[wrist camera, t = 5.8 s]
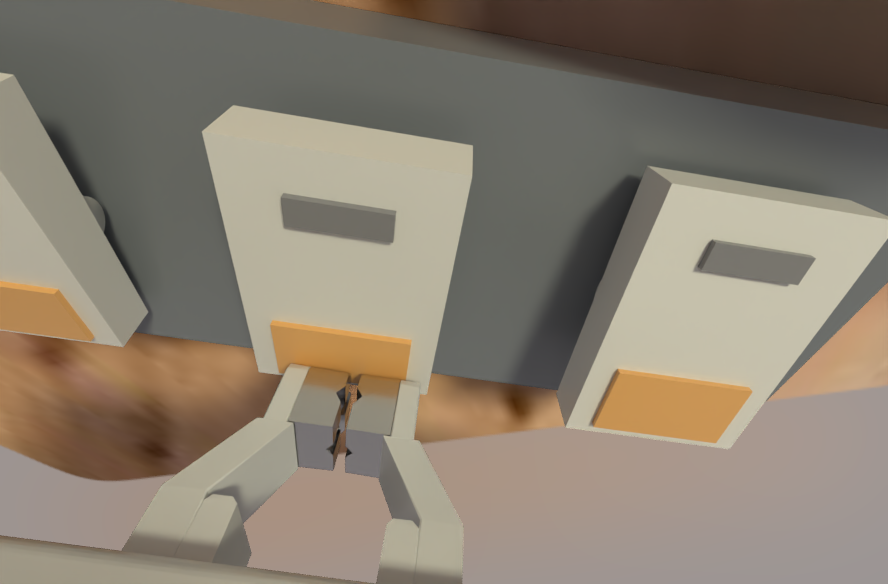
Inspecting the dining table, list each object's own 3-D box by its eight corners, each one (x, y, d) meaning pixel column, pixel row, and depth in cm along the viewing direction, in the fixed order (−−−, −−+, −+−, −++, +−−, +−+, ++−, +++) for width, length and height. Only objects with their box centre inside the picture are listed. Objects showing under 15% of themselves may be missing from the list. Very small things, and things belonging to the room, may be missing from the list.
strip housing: (4, 246, 15) (-82, 302, 13) (-198, -93, 9) (-415, -105, 7) (711, 350, 17) (750, 416, 14) (902, 108, 11) (1019, 153, 9)
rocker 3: (552, 381, 12) (566, 431, 11) (638, 159, 9) (675, 185, 8) (698, 401, 13) (732, 453, 11) (832, 192, 9) (907, 224, 8)
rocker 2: (281, 324, 12) (257, 376, 11) (244, 95, 8) (196, 135, 7) (431, 345, 13) (426, 399, 11) (473, 134, 8) (472, 180, 7)
